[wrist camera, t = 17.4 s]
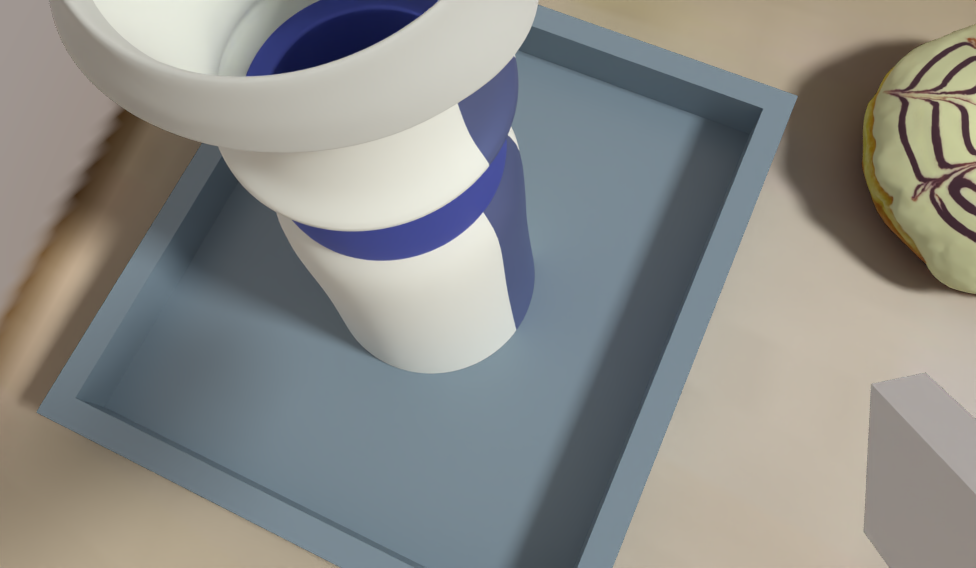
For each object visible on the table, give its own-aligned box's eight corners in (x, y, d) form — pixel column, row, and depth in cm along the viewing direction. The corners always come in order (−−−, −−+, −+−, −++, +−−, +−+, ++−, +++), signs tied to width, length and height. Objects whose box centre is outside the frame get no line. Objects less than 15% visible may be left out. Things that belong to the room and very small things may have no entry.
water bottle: (353, 155, 32) (-144, -899, 9) (560, 194, 31) (634, -884, 8) (292, 348, 30) (-614, -378, 6) (514, 398, 29) (417, -248, 5)
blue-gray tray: (345, -26, 36) (331, -68, 33) (777, 129, 32) (797, 96, 30) (76, 422, 30) (36, 412, 28) (564, 669, 27) (567, 683, 24)
